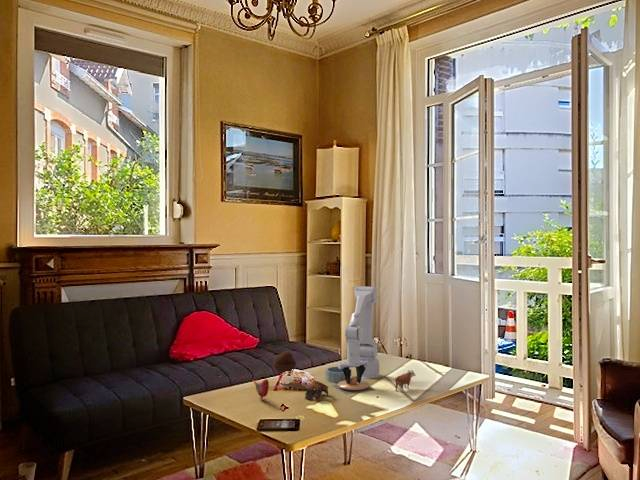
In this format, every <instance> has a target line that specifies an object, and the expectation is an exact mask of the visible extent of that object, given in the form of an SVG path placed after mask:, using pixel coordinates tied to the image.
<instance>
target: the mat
mask: <svg viewBox="0 0 640 480" xmlns="http://www.w3.org/2000/svg"><path fill="white" fill-rule="evenodd" d="M331 386H332V387H333V388H335V389H336V390H338V391H340V392H342V393H343V394H345V395H350V394H359V393H364V392H365V393H366V392H373V391H376V389H375V388H374V387H372V386H370V385H369V387H368V388H366V389H361V390H347V389H343V388H340V387H339V386H338V383H336V384H331Z"/></svg>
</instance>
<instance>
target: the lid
mask: <svg viewBox="0 0 640 480" xmlns="http://www.w3.org/2000/svg"><path fill="white" fill-rule="evenodd" d="M337 384H338V386H339V387H340V388H343V389H347V390H361V389H366V388H368V387H369V386H370V383H369V382H367V381H364V380H361V382H360V383H358V382H357V376H356V375H352V376H350V384H347V383H346V380H344V381H341V382H339V383H337Z"/></svg>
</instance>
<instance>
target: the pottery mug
mask: <svg viewBox="0 0 640 480" xmlns="http://www.w3.org/2000/svg"><path fill="white" fill-rule="evenodd" d="M328 389H329V386H328V385H326V384H324V383H323V382H320V381H317V380H313V381H312V382H311V383H310V384H309V385H308V386H307V389H306V392H305V394H304V399H307V400H309V401H311V402H312V401H314V399H315V400H319V399H320V398H321V395H322V393H325V396H326V398H327V397H329V391H328Z"/></svg>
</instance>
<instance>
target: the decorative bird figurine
mask: <svg viewBox="0 0 640 480" xmlns="http://www.w3.org/2000/svg"><path fill="white" fill-rule="evenodd" d="M252 381H253V383H254V385H255V390H256V392H257V395H259V397H260V400H261V401H262V402H265V400H264V398H265V397H267V395H268V393H269V387H270V384H269V383H270V381H269V380H268V379H263V380H262V382H256V380H254V379H252Z"/></svg>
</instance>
